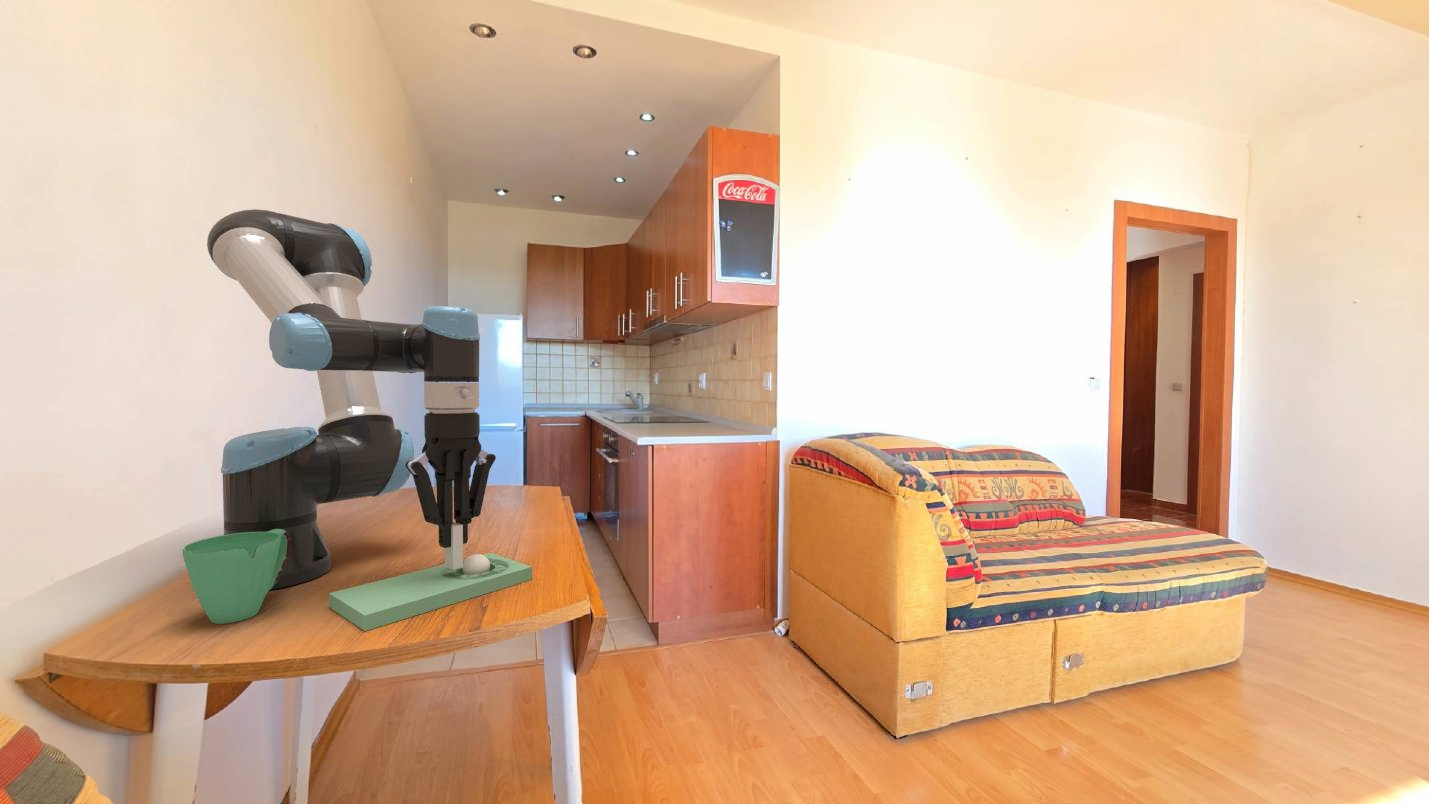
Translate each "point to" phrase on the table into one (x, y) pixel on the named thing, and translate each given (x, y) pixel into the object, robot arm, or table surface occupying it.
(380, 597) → the green rectangular board
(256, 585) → the mug
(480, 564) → the ball
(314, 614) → the table surface
